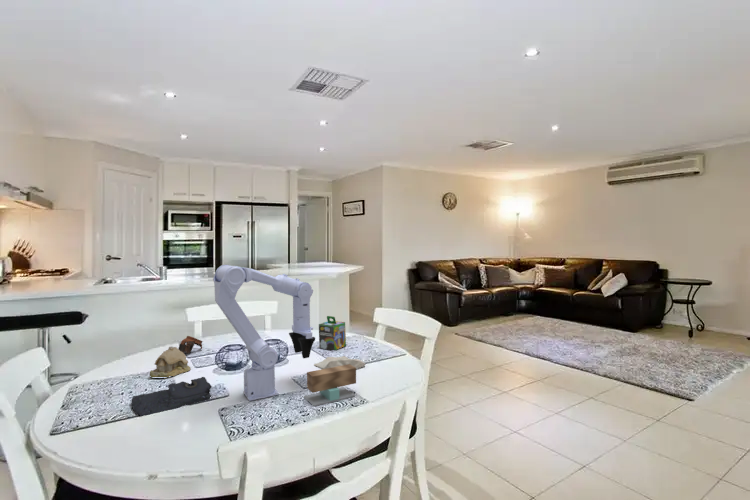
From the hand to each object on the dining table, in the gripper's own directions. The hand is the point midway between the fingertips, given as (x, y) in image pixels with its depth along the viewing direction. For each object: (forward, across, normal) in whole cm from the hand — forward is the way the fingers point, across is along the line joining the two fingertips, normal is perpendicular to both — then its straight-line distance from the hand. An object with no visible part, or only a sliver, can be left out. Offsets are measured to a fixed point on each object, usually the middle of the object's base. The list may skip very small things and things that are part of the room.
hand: (301, 354), depth 134 cm
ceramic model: (+10, +37, +38) cm, 54 cm away
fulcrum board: (+10, -16, -3) cm, 19 cm away
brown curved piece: (+10, +62, +29) cm, 69 cm away
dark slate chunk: (+11, +8, +40) cm, 42 cm away
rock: (+10, +8, -17) cm, 22 cm away
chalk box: (+10, +35, -28) cm, 46 cm away
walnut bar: (+6, -16, -4) cm, 18 cm away
